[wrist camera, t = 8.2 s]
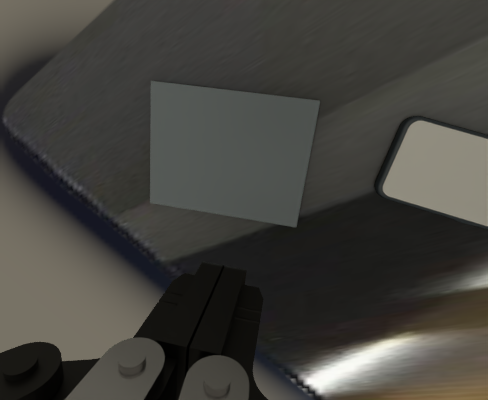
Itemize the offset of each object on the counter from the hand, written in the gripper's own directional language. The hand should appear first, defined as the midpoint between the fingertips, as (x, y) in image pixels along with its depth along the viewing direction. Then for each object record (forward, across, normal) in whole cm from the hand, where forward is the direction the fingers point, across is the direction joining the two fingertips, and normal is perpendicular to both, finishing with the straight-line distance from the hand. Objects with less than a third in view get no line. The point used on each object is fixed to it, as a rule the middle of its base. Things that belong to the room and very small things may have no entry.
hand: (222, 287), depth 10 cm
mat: (+24, +5, 0) cm, 24 cm away
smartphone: (+23, -12, -3) cm, 26 cm away
